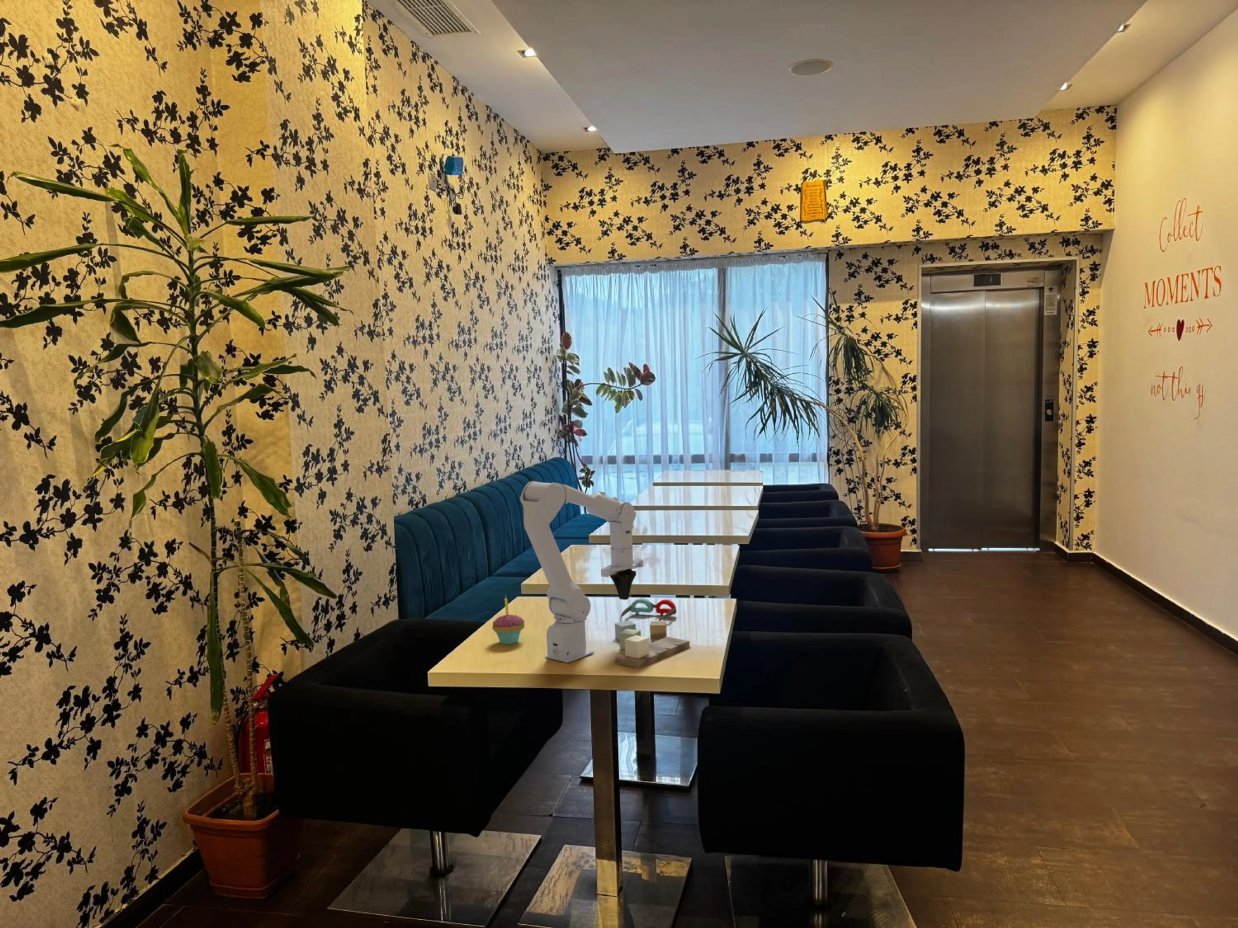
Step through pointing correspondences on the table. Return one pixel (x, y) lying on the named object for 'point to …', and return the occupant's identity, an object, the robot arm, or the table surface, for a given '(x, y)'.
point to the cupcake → (508, 627)
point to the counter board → (654, 652)
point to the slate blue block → (623, 627)
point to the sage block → (627, 636)
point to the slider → (636, 646)
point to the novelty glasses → (651, 608)
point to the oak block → (658, 630)
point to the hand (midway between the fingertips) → (624, 598)
